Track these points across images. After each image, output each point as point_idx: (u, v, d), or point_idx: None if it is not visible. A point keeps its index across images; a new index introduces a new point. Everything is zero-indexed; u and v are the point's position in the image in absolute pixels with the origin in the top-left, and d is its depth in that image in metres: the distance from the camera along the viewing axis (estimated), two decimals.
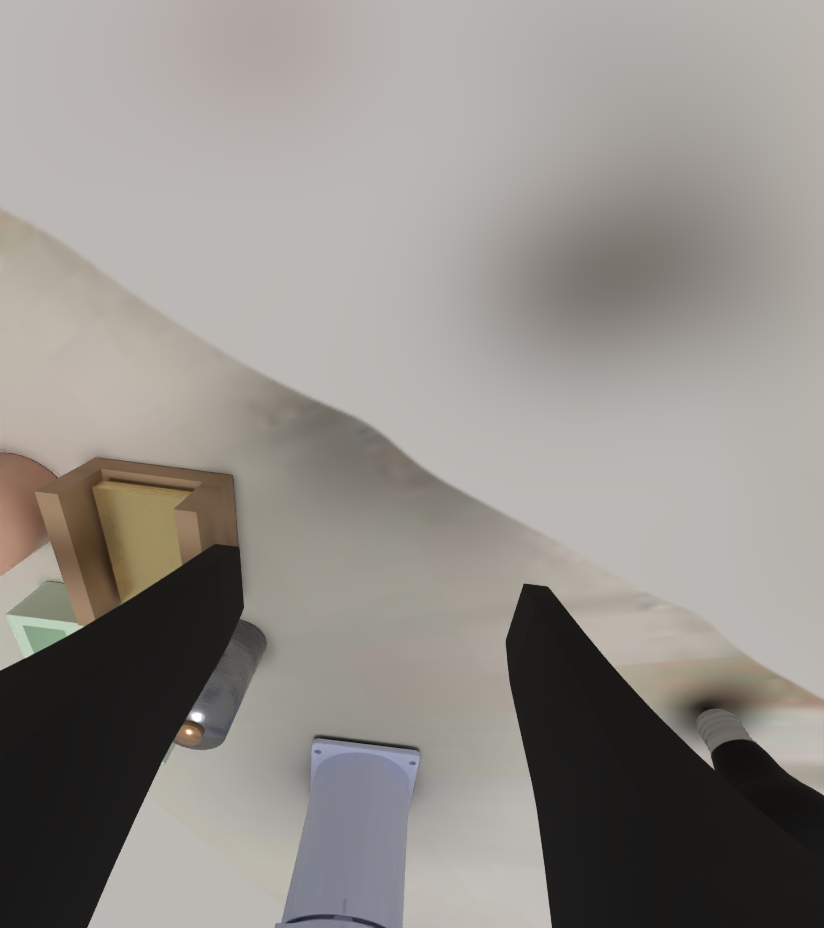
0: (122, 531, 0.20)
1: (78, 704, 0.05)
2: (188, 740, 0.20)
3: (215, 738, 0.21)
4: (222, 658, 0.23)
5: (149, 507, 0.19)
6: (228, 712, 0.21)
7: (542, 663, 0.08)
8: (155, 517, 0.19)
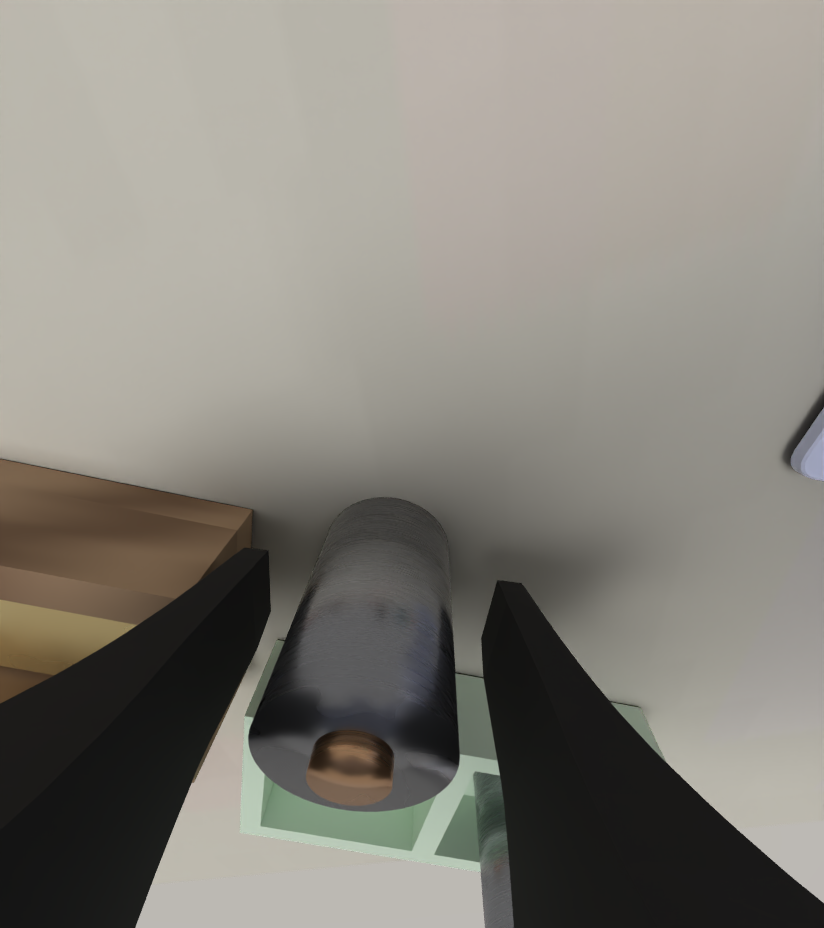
0: (33, 649, 0.11)
1: (130, 710, 0.05)
2: (367, 783, 0.06)
3: (400, 719, 0.06)
4: None
5: None
6: (337, 648, 0.07)
7: (511, 659, 0.08)
8: None
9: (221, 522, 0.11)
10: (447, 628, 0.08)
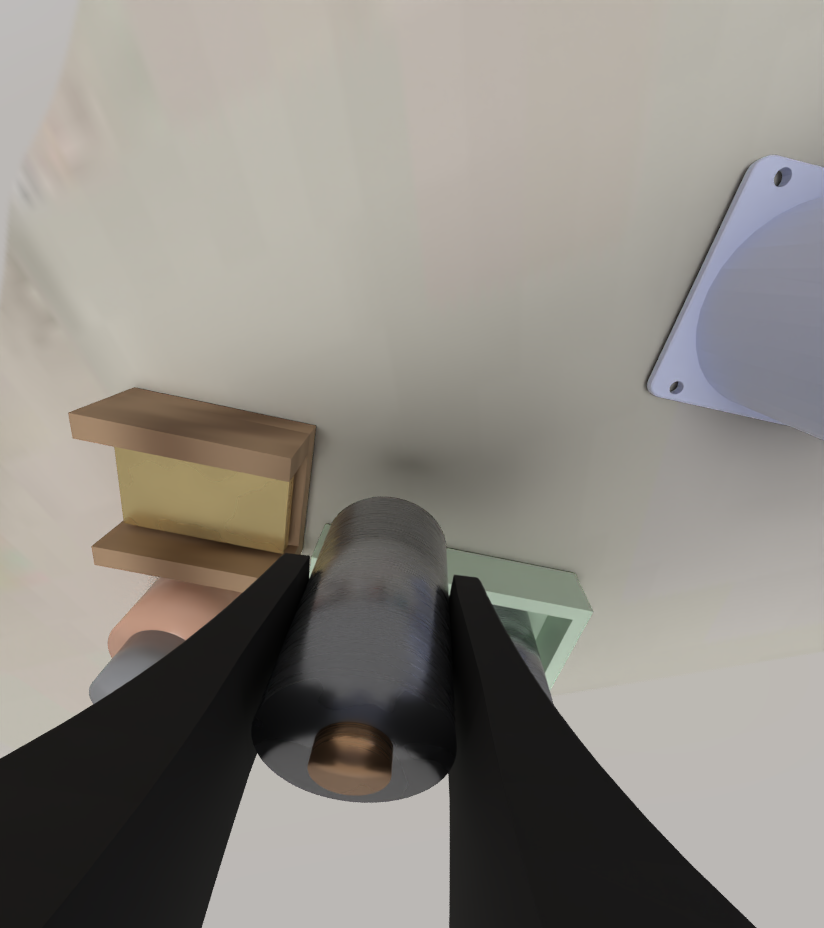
0: (175, 515, 0.18)
1: (204, 719, 0.05)
2: (367, 773, 0.07)
3: (399, 710, 0.07)
4: None
5: (134, 476, 0.17)
6: (338, 642, 0.07)
7: (459, 652, 0.08)
8: (147, 475, 0.17)
9: (299, 429, 0.17)
10: (445, 624, 0.09)
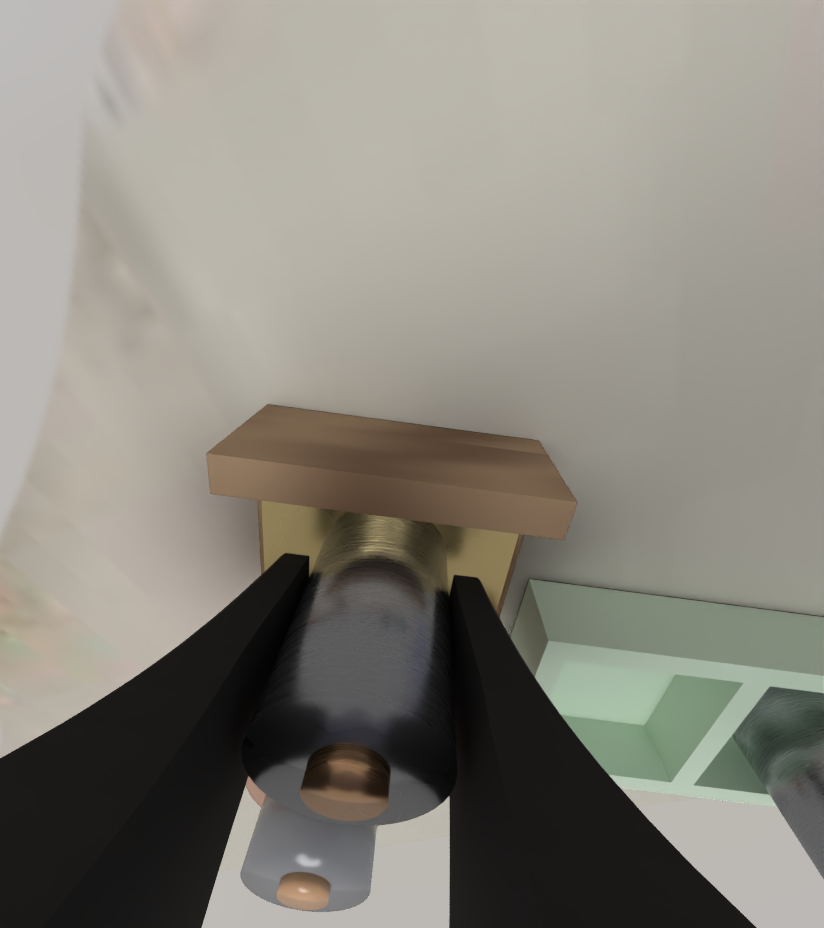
0: None
1: (204, 719, 0.05)
2: (362, 799, 0.06)
3: (399, 734, 0.06)
4: None
5: (287, 531, 0.12)
6: (335, 660, 0.07)
7: (459, 652, 0.08)
8: (306, 528, 0.11)
9: (527, 449, 0.11)
10: (446, 639, 0.08)
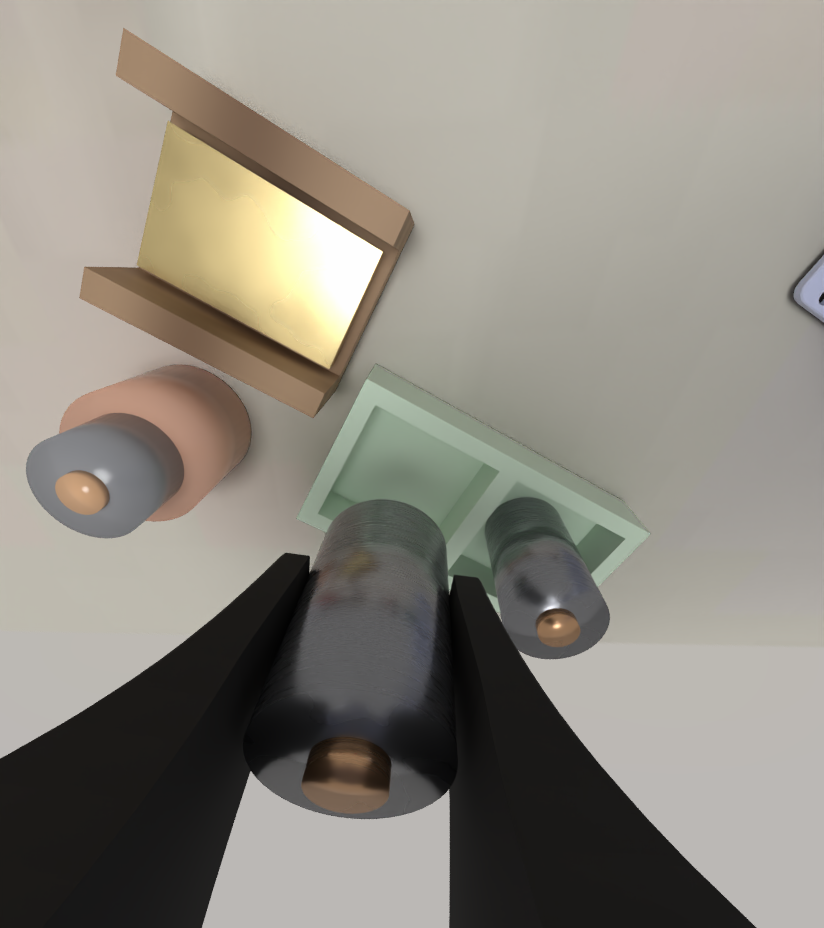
0: (211, 273, 0.14)
1: (205, 718, 0.05)
2: (363, 790, 0.06)
3: (395, 724, 0.06)
4: None
5: (175, 198, 0.13)
6: (329, 653, 0.07)
7: (459, 652, 0.08)
8: (194, 201, 0.13)
9: None
10: (444, 630, 0.08)
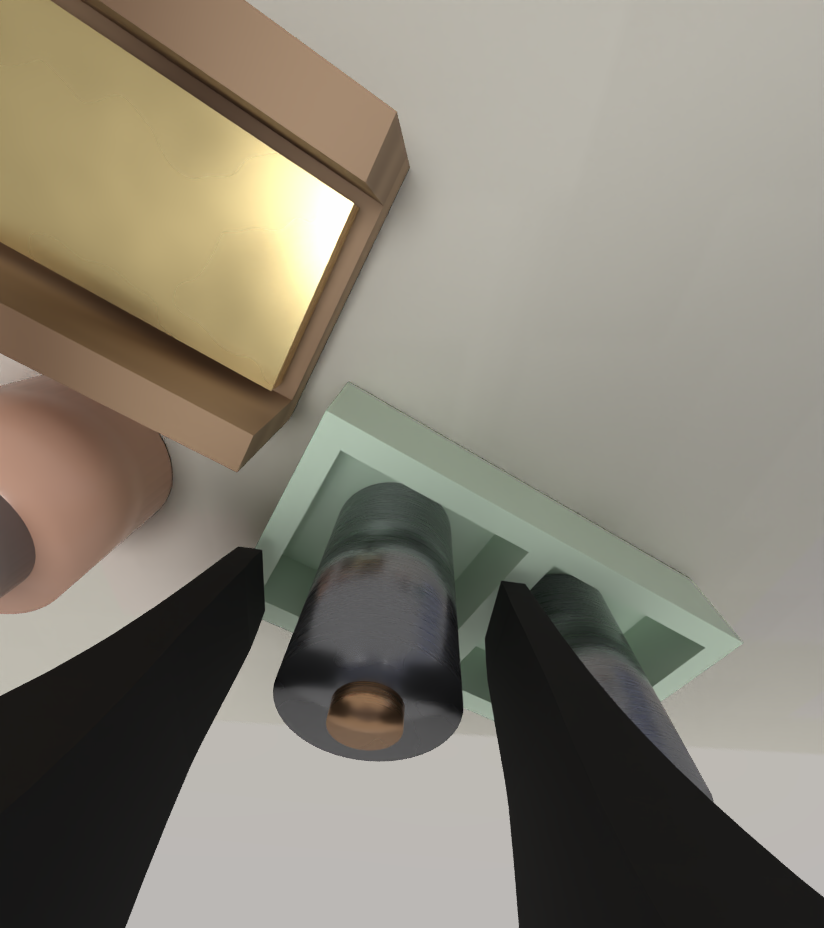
0: (73, 232, 0.08)
1: (119, 708, 0.05)
2: (380, 728, 0.07)
3: (408, 669, 0.07)
4: None
5: None
6: (350, 609, 0.07)
7: (515, 660, 0.08)
8: (30, 102, 0.07)
9: None
10: (450, 595, 0.09)
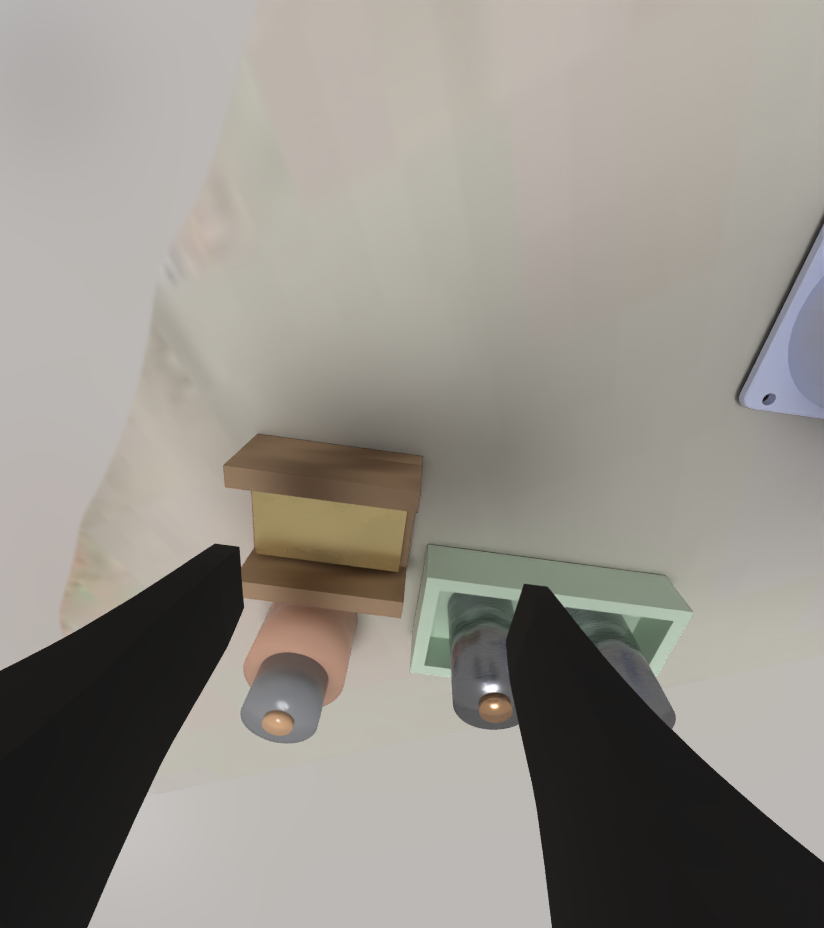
0: (302, 543, 0.20)
1: (78, 703, 0.05)
2: (502, 710, 0.17)
3: (503, 683, 0.17)
4: None
5: (268, 512, 0.19)
6: (471, 665, 0.17)
7: (542, 663, 0.08)
8: (279, 509, 0.19)
9: (411, 462, 0.19)
10: None
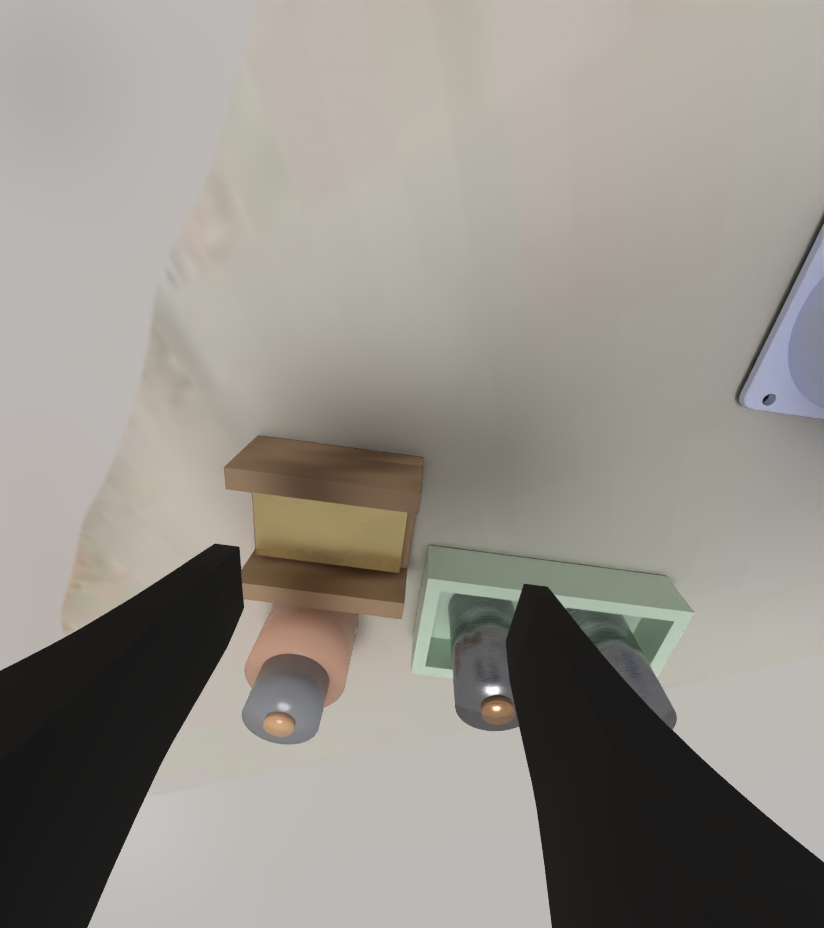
0: (303, 544, 0.20)
1: (78, 703, 0.05)
2: (504, 712, 0.17)
3: (505, 685, 0.17)
4: (451, 649, 0.20)
5: (269, 513, 0.19)
6: (472, 668, 0.18)
7: (542, 663, 0.08)
8: (280, 511, 0.19)
9: (411, 463, 0.19)
10: None
